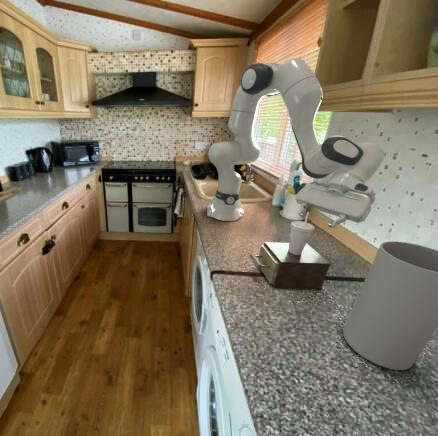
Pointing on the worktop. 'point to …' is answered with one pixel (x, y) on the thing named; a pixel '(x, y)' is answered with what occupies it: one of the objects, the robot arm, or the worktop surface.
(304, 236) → the smoothie
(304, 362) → the worktop surface
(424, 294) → the cylinder vase
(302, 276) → the cabinet
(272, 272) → the drawer
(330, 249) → the worktop surface
